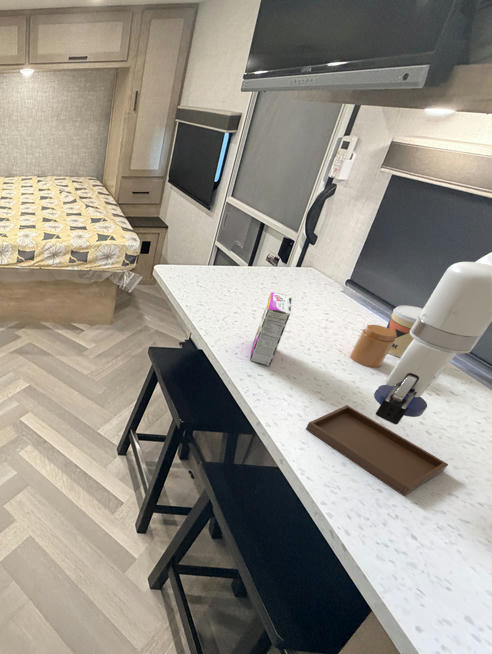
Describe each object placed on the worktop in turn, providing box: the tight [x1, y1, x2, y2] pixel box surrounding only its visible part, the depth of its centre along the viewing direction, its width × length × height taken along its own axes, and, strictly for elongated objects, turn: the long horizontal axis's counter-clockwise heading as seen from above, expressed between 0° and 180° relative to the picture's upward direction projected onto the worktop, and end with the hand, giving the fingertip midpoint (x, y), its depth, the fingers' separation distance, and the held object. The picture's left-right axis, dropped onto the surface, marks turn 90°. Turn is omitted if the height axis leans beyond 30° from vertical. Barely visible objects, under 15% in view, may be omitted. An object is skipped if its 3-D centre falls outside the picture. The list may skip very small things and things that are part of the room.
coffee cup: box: [385, 305, 424, 359], centre depth 107 cm, size 9×9×12 cm
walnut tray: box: [305, 404, 449, 497], centre depth 80 cm, size 17×13×2 cm
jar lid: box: [373, 384, 428, 418], centre depth 75 cm, size 7×7×2 cm
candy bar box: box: [249, 291, 293, 367], centre depth 105 cm, size 11×5×16 cm, turn 145°
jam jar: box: [349, 324, 396, 368], centre depth 104 cm, size 6×6×10 cm
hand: (393, 410), depth 76 cm, fingers closed on jar lid, 6 cm apart
